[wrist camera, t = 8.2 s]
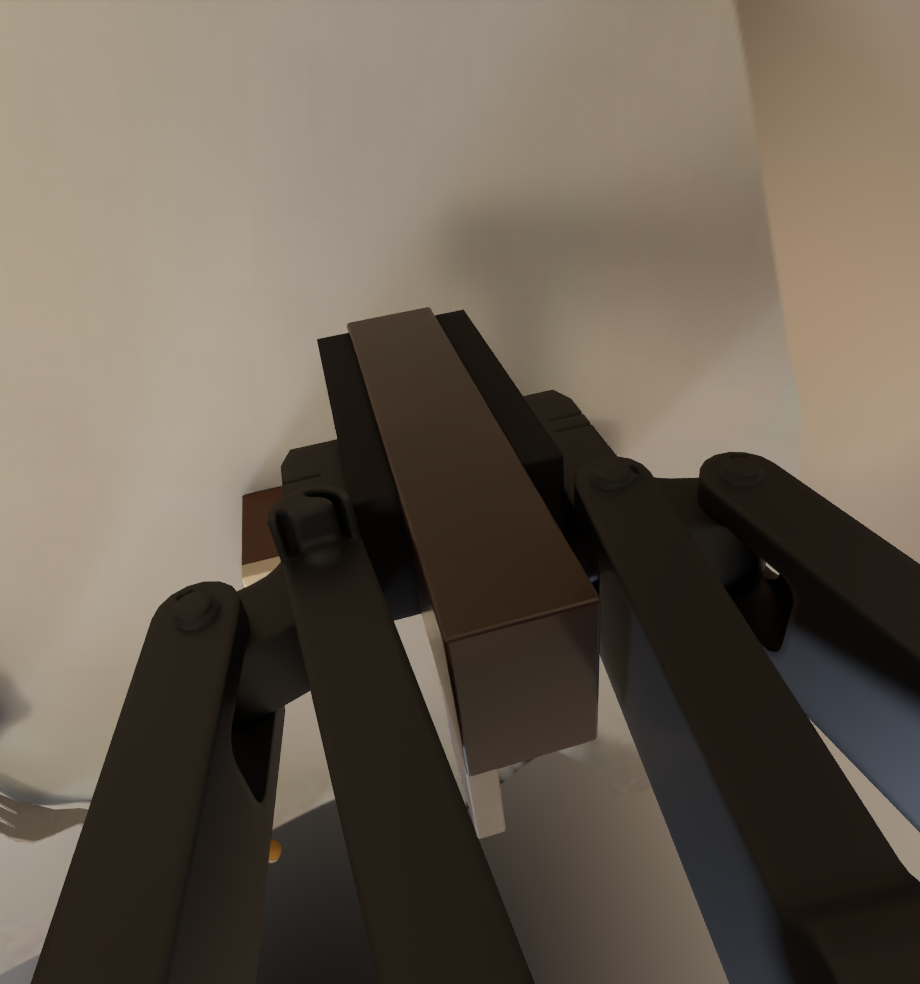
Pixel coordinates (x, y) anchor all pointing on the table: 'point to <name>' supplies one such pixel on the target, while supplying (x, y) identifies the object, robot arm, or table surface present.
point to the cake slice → (258, 536)
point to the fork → (54, 823)
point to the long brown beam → (481, 563)
